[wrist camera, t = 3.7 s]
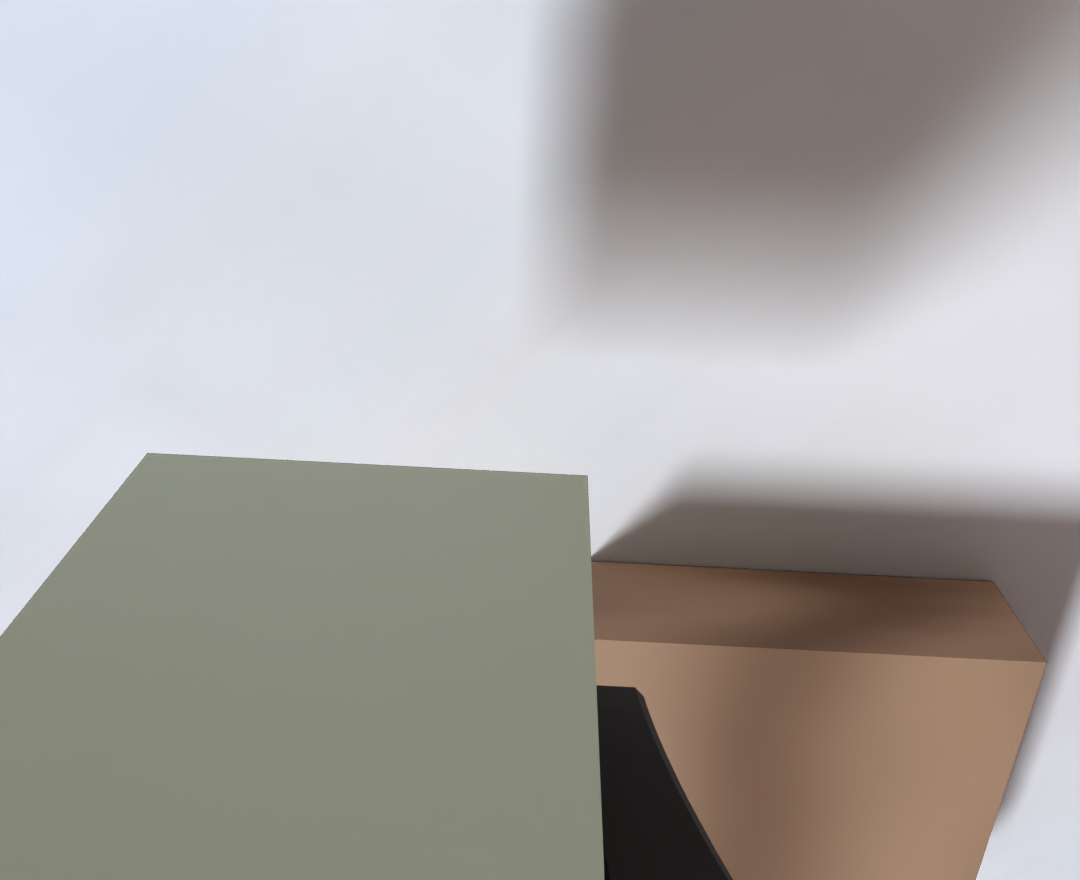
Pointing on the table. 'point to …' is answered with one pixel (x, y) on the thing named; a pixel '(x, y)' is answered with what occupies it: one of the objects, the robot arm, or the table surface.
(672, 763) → the walnut base
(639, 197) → the table surface
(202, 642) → the sage block
